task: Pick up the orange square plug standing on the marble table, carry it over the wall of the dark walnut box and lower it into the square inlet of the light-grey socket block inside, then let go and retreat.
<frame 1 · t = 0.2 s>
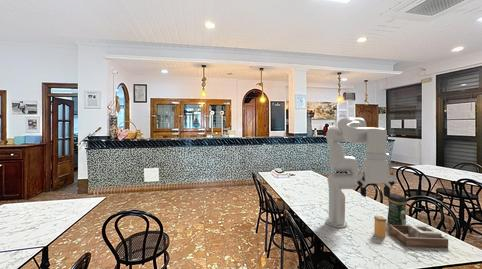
hand: (374, 196, 100), 31 cm above the table, fingers open, 9 cm apart
coffee jar: (396, 223, 146), on the table
connector: (379, 235, 130), on the table
walled box: (416, 239, 125), on the table
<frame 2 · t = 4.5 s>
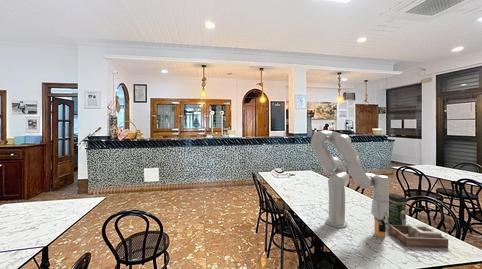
hand: (379, 229, 130), 3 cm above the table, fingers closed on connector, 4 cm apart
connector: (379, 235, 130), on the table, touching gripper
everything else where it was.
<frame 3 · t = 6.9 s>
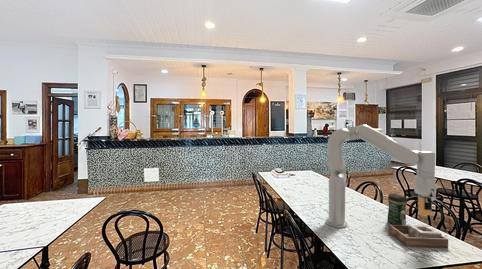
hand: (424, 207, 124), 18 cm above the table, fingers closed on connector, 4 cm apart
connector: (424, 213, 124), point 14 cm above the table, touching gripper
everything else where it was.
when the fingers open (7 cm above the table, at t = 9.5 s): connector drops 3 cm, resting on walled box.
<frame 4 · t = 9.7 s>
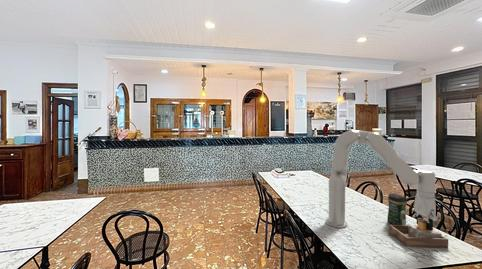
hand: (424, 226, 125), 7 cm above the table, fingers open, 6 cm apart
connector: (424, 237, 125), point 1 cm above the table, touching walled box
everything else where it was.
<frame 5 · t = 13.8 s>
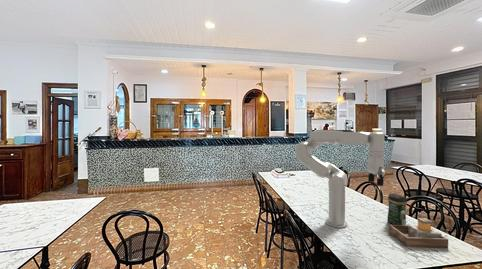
hand: (375, 183, 133), 28 cm above the table, fingers open, 9 cm apart
nothing on the table moved.
at the end: connector 0.2 cm from the target spot on the walled box, point 1.0 cm above the walled box's base; connector tilted 0°; the gripper is holding nothing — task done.
